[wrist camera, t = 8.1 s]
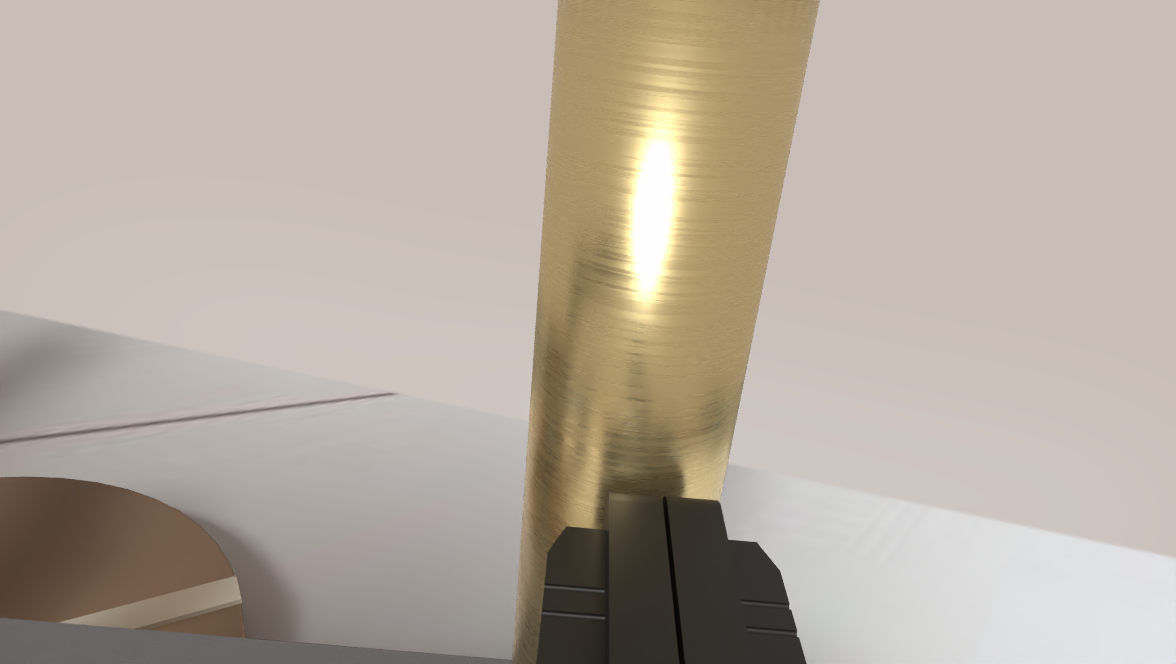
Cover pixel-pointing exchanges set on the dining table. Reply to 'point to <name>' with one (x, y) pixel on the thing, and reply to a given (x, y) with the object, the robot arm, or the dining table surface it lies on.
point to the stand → (110, 561)
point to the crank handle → (606, 291)
